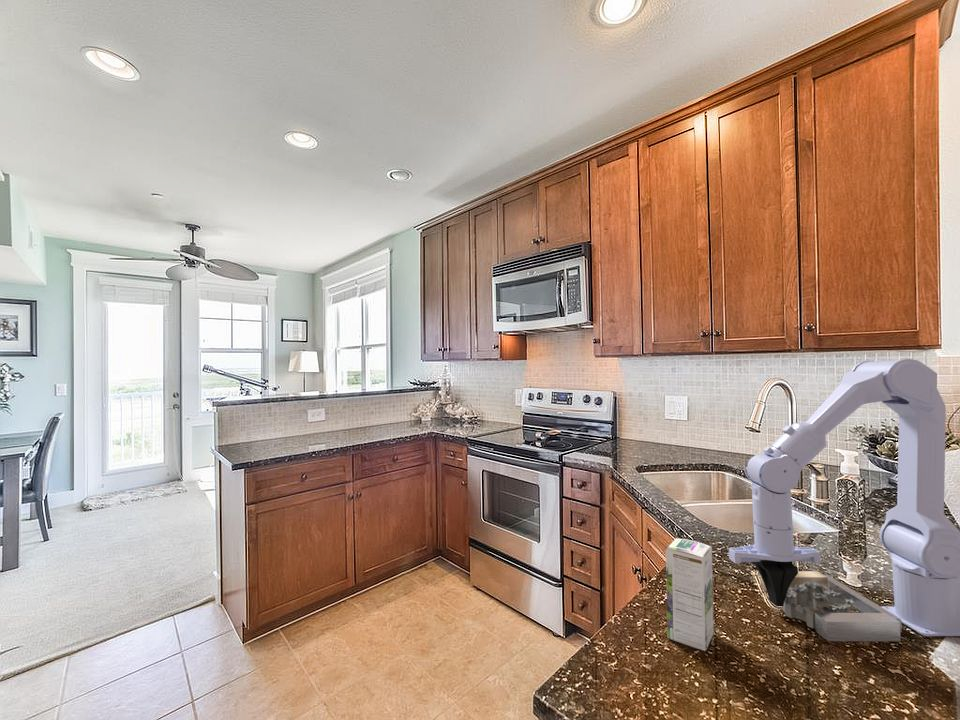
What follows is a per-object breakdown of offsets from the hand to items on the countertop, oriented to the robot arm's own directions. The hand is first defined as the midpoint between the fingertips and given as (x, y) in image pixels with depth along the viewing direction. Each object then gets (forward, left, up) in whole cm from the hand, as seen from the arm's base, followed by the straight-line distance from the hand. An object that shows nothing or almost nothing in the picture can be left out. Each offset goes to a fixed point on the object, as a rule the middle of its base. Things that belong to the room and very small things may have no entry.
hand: (776, 603), depth 75 cm
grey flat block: (-10, -2, -2) cm, 10 cm away
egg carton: (-7, 0, -2) cm, 7 cm away
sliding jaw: (-8, -8, -2) cm, 12 cm away
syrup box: (+18, +6, -2) cm, 19 cm away
